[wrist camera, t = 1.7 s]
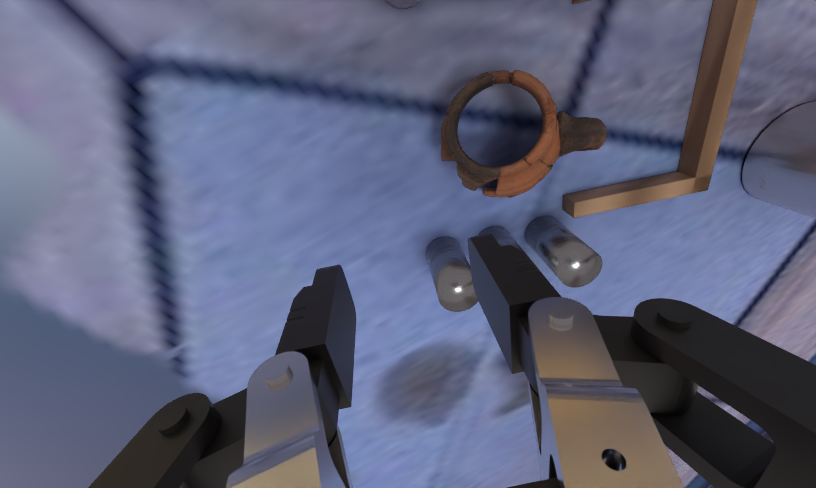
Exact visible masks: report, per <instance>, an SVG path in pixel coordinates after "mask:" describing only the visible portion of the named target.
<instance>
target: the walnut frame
mask: <svg viewBox="0 0 816 488" xmlns="http://www.w3.org/2000/svg"><path fill="white" fill-rule="evenodd" d="M584 1H589V0H572V4H574V3H579V2H584ZM757 1H758V0H714V1H713V6H712V10H711V15H710V20H709V24H708V29H707V34H706V39H705V43H704V48H703V53H702V57H701V62H700V67H699V72H698V76H697V81H696V86H695V90H694V95H693V100H692V105H691V109H690V114H689V119H688V124H687V128H686V133H685V138H684V142H683V147H682V152H681V157H680V161H679V166H678V171H677V172H672V173H668V174H663V175H658V176H653V177H648V178H643V179H639V180H634V181H629V182H624V183H619V184H614V185H610V186H605V187H600V188H595V189H590V190H586V191H581V192H576V193H571V194H566V195H563V210H564V211H565V212H567V213H568V214H569V215H571V216H572V217H573V218H575V217H580V216H585V215H590V214H594V213H599V212H604V211H609V210H614V209H619V208H623V207H628V206H633V205H638V204H643V203H647V202H652V201H657V200H662V199H667V198H672V197H676V196H681V195H686V194H691V193H696V192H701V191H705V190H708V187H709V183H710V179H711V176H712V172H713V168H714V164H715V160H716V157H717V153H718V149H719V145H720V141H721V138H722V134H723V130H724V126H725V123H726V119H727V115H728V111H729V107H730V104H731V100H732V96H733V92H734V88H735V85H736V81H737V77H738V73H739V69H740V66H741V62H742V58H743V54H744V50H745V47H746V43H747V39H748V35H749V32H750V28H751V24H752V20H753V16H754V13H755V9H756V5H757Z"/></svg>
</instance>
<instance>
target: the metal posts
mask: <svg viewBox="0 0 816 488" xmlns="http://www.w3.org/2000/svg"><path fill="white" fill-rule="evenodd" d="M385 1H386V2H387V3H389V4H390V5H391V6H393V7H395V8H399V9H407V8H410V7H412V6H414V5H416V4H417V3H418V2H419V1H420V0H385ZM490 233H491V234H492V235H493V236H494V237H495V239H496V240H497V242H498V243H499V244H500V246H501V247H502V246H507V245H512V246H514V247H516V248H518V249H520V250H522V248H521V247H520V246H519V245H518V244H517V242H516V241H515V240H514V239H513V237H512V236H511V235H510V234H509V233H508V231H507V230H506V229H504V228H502V227H499V226H492V227H489V228H486V229H485V230H483V231H482V232H481V233H480V234H479V235H478V236H481V235H485V234H490ZM525 239H526V242H527V243H528V244H529V245H530V246H531V248H532V249H533V250H534V251H535V252H536V253H537V254H538V255H539V257H540V258H541V259H542V260H543V261H544V262H545V263H546V264H547V266H548V267H549V268H550V269H551V270H552V271H553V272H554V273H555V275H556V276H557V277H558V278H559V279H560V280H561V281H562V282H563V283H564V284H565V285H566V286H569V287H581V286H584V285H586V284H588V283H590V282H591V281H593V280H594V279H595V278H596V277H597V276H598V274H599V273H600V271H601V268H602V259H601V257H600V256H599V254H597V253H596V252H595V251H594V250H593V249H591V248H590V247H589V246H588V245H586V244H585V243H584V242H583V241H582V240H580V239H579V238H578V237H577V236H576V235H574V234H573V233H572V232H571V231H569V230H568V229H567V228H566V227H565V226H563V225H562V224H561V223H560V222H559V221H557V220H556V219H555V218H553V217H551V216H541V217H538V218H536V219H534V220H533V221H532V222H531V223H530V224H529V225H528V227H527V228H526V231H525ZM522 251H523V250H522ZM525 254H526V253H525ZM526 255H527V254H526ZM426 257H427V261H428V264H429V267H430V271H431V274H432V278H433V281H434V285H435V288H436V291H437V295H438V298H439V301H440V304H441V305H442V306H443V307H444V308H445V309H447V310H449V311H454V312H460V311H465V310H467V309H470V308H471V307H473V306H474V305H475V304H476V303H477V302H478V298H477V296H476V294H475V291H474V287H473V283H472V277H471V268H470V265H469V263H468V261H467V259H466V257H465V255H464V253H463V251H462V249H461V247H460V245H459V243H458V242H457V241H456V240H455V239H453V238H451V237H440V238H437V239H435V240H433V241H432V242H431V243H430V244H429V246H428V247H427V250H426ZM529 259H530V258H529ZM530 260H531V259H530ZM531 262H532V260H531ZM534 265H535V264H534ZM535 266H536V265H535ZM536 267H537V266H536ZM538 270H539V269H538ZM539 271H540V270H539Z"/></svg>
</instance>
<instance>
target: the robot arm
mask: <svg viewBox="0 0 816 488" xmlns="http://www.w3.org/2000/svg"><path fill="white" fill-rule="evenodd" d="M742 182H743V185H744V188H745V190H746V191H747V192H748V193H749V194H750V195H751V196H753V197H755V198H757V199H760V200H763V201H766V202H769V203H772V204H775V205H778V206H781V207H784V208H787V209H790V210H793V211H795V212H798V213H801V214H804V215H807V216H810V217H813V218H815V219H816V101H814V102H809V103H805V104H803V105H800V106H797V107H795V108H793V109H791V110H790V111H788V112H786V113H785V114H783V115H782V116H780V117H779V118H778V119H776V120H775V121H774V122H773V123H771V124H770V125H769V126H768V127H767V128H766V129H765V130H764V131H763V132H762V134H761V135H760V136H759V138H758V139H757V140H756V141H755V143H754V144H753V146H752V148H751V149H750V151H749V153H748V155H747V158H746V160H745V163H744V167H743V171H742ZM468 249H469V258H470V268H471V277H472V283H473V287H474V291H475V294H476V296H477V298H478V301H479V303H480V305H481V307H482V309H483V311H484V314H485V316H486V318H487V320H488V322H489V324H490V327H491V329H492V331H493V333H494V335H495V337H496V340H497V342H498V344H499V346H500V348H501V350H502V353H503V355H504V357H505V359H506V361H507V363H508V366H509V368H510V370H511V372H512V374H514V373H518V372H523V371H524V372H525V374H526V376H527V378H528V380H529V396H530V403H531V410H532V417H533V424H534V431H535V438H536V445H537V452H538V459H539V467H540V479H541V481H537V482H532V483H527V484H522V485H518V486H513V487H508V488H684V486H683V484H682V482H681V480H680V477H679V475H678V473H677V471H676V469H675V467H674V464H673V462H672V460H671V458H670V456H669V454H668V451H667V449H666V447H665V445H666V446H667V447H668V448H669V449H671V450H672V451H673V452H674V453H675V454H676V455H677V456H679V457H680V458H681V459H682V460H683V461H684V462H686V463H687V464H688V465H689V466H690V467H691V468H693V469H694V470H695V471H696V472H697V473H698V474H700V475H701V476H702V477H703V478H704V479H705V480H707V481H708V482H709V483H710V484H711V485H712V486H714V487H715V488H816V365H814V364H812V363H810V362H808V361H806V360H804V359H802V358H800V357H798V356H796V355H794V354H792V353H790V352H788V351H785V350H783V349H781V348H779V347H777V346H775V345H773V344H771V343H769V342H767V341H765V340H763V339H761V338H759V337H757V336H755V335H753V334H751V333H749V332H746V331H744V330H742V329H740V328H738V327H736V326H734V325H732V324H730V323H728V322H726V321H724V320H722V319H720V318H718V317H716V316H714V315H712V314H710V313H707V312H705V311H703V310H701V309H699V308H697V307H695V306H693V305H690V304H688V303H685V302H682V301H678V300H672V299H663V298H657V299H649V300H646V301H643V302H641V303H640V304H638V305H637V306H636V308H635V311H634V316H633V317H620V316H598V315H593V314H592V313H591V311H590V310H589V309H588V308H587V307H586V306H584V305H583V304H581V303H579V302H577V301H575V300H572V299H568V298H563V297H561V296H560V295H559V293H558V292H557V291H556V290H555V289H554V287H553V286H552V285H551V284H550V283H549V281H548V280H547V279H546V278H545V277H544V275H543V274H542V273H541V272H540V271H539V270H538V268H537V267H536V266H535V265H534V263H533V262H531V260H530V259H529V257H528V256H527V255H526V254H525V252H524V251H522V250H520V249H518V248H516V247H514V246H512V245H507V246H502V247H501V246H500V244H499V243H498V242H497V240H496V239H495V237H494V236H493V235H492V234H491V233H490V234H485V235H481V236H476V237H471V238H468ZM355 332H356V312H355V306H354V302H353V299H352V296H351V293H350V290H349V287H348V284H347V281H346V278H345V275H344V272H343V269H342V267H341V265H335V266H330V267H325V268H320V269H317V270H316V273H315V277H314V281H313V284H312V286H308V287H303V289H302V290H301V291H300V292H299V293H298V294H297V296H296V297H295V298H294V300H293V303H292V306H291V309H290V312H289V315H288V318H287V322H286V324H285V327H284V330H283V333H282V336H281V339H280V342H279V345H278V348H277V351H276V354H275V356H273V357H271V358H269V359H268V360H266V361H265V362H264V363H262V364H261V365H260V366H259V367H258V368H257V369H256V370H255V371H254V373H253V374H252V376H251V377H250V379H249V382H248V387H247V388H246V389H244V390H242V391H240V392H238V393H236V394H234V395H232V396H230V397H228V398H225V399H223V400H221V401H219V402H217V403H215V404H212V403H211V401H210V400H209V398H208V397H207V396H206V395H204V394H201V393H192V394H188V395H184V396H182V397H179V398H177V399H175V400H173V401H172V402H170V403H168V404H167V405H165V406H164V407H163V408H162V409H160V410H159V411H158V412H157V413H156V414H155V415H154V416H153V417H152V418H151V419H150V420H149V421H148V422H147V423H146V424H145V425H144V426H143V428H142V429H141V430H140V431H139V432H138V433H137V434H136V435H135V436H134V437H133V439H132V440H131V441H130V442H129V443H128V444H127V445H126V447H125V448H124V449H123V450H122V451H121V452H120V453H119V454H118V455H117V456H116V458H115V459H114V460H113V461H112V462H111V463H110V464H109V465H108V466H107V468H106V469H105V470H104V471H103V472H102V473H101V474H100V475H99V476H98V478H97V479H96V480H95V481H94V482H93V483H92V484H91V485H90V486H89V488H353V485H352V481H351V477H350V472H349V468H348V464H347V459H346V455H345V451H344V446H343V442H342V437H341V433H340V430H339V427H338V425H337V422H338V412H339V409H343V408H348V407H351V401H352V384H353V366H354V349H355ZM698 386H700V387H702V388H704V389H705V390H707V391H708V392H710V393H711V394H713V395H714V396H716V397H717V398H719V399H720V400H722V401H723V402H725V403H726V404H728V405H729V406H731V407H732V408H734V409H735V410H737V411H738V412H740V413H741V414H743V415H744V416H746V417H747V418H749V419H750V420H752V421H753V422H755V423H756V424H758V425H759V426H760V427H761V428H763V429H764V430H765V431H766V432H767V433H768V435H769V436H770V437H771V439H772V440H773V442H774V443H772V442H770V441H769V440H767V439H766V438H764V437H763V436H762V435H760V434H759V433H757V432H756V431H754V430H753V429H751V428H750V427H748V426H747V425H745V424H744V423H742V422H741V421H739V420H738V419H736V418H735V417H733V416H732V415H731V414H729V413H728V412H726V411H725V410H723V409H722V408H720V407H719V406H717V405H716V404H714V403H713V402H711V401H710V400H708V399H707V398H705V397H704V396H702V395H701V394H700V393H698V392H697V388H698ZM664 444H665V445H664Z"/></svg>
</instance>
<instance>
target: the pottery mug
mask: <svg viewBox="0 0 816 488" xmlns="http://www.w3.org/2000/svg"><path fill="white" fill-rule="evenodd" d="M498 83H511V84H512V85H514V86H518V87H520V88H523V89H525V90H526V91H528V92H529V93H530V94H531V95H532V96H533V97H534V98H535V99H536V101H537V102H538V104H539V106H540V108H541V112H542V117H543V125H542V131H541V134H540V137H539V139H538V141H537V143H536V144H535V146H534V147H533V149H532V150H531V151H530V152H529V153H528V154H527V155H526V156H524V157H523V158H521V159H520V160H518V161H516V162H514V163H512V164H509V165H505V166H500V167H489V166H484V165H481V164H479V163H477V162H475V161H473V160H472V159H471V158H469V157H468V156H467V155H466V154H465V152H464V151H463V150H462V148H461V146H460V143H459V140H458V134H457V128H458V121H459V117H460V115H461V112H462V110H463V109H464V107H465V106H466V104H467V103H468V102H469V101H470V99H471V98H472V97H474V96H475V95H476V94H478V93H479V92H481V91H482V90H484V89H486V88H488V87H490V86H492V85H493V84H498ZM556 109H557V107H556V104H555V103H554V101H553V100H552V98H551V95H550V93H549V91H548V90H547V88H546V87H545V86H544V84H542V83H541V82H540V81H539V80H538V79H536V78H535V77H533V76H532V75H531V74H528V73H525V72H522V71H518V70H514V71H513V73H510V72H509V71H496V72H491V73H487V72H486V73H484V74H482V75H480V76H478V77H476V78H475V79H473V80H472V81H471V82H470V83H468V84H467V85H466V86H465V87H464V88H462V89H461V91H459V93H458V94H457V95H456V96H455V97H454V99H453V100H452V101H451V103H450V105H449V107H448V108H447V110H446V115H447V116H446V118H445V119H444V120H443V123H442V129H441V138H442V145H441V158H442V161H456V162H457V163H458V165H457V172H458V176H459V177H460V178H461V179H462V184H463V186H464V187H466V188H468V189H470V190H473V191H475V190H476V189H477V188H478V187H480V186H483V185H485V184H486V183H488V182H490V181H492V180H495V179H497V188H484V191H483V195H486V196H490V197H513V196H516V195H519V194H522V193H524V192H526V191H528V190H530V189H531V188H533V187H534V186H535V185H536V184H537V183H538V182H540V181H541V180H542V179H543V178H544V177H545V176H546V175H547V174H548V173H549V172H550V170H551V169H552V167H553V165H552V164H554V163H555V161H556V160H557V159H558V157H560V156H562V155H565V154H567V153H570V152H573V151H585V150H597V149H599V148H600V147H601V146H602V145H603V143H604V142H605V140H606V138H607V135H606V126H605V125H604V123H603V122H602V121H601V120H600V119H597V118H588V117H580V118H576V117H571V116H569V115H567V114H566V113H565V112H563V111H559V112H558V114H557V116H556Z"/></svg>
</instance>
